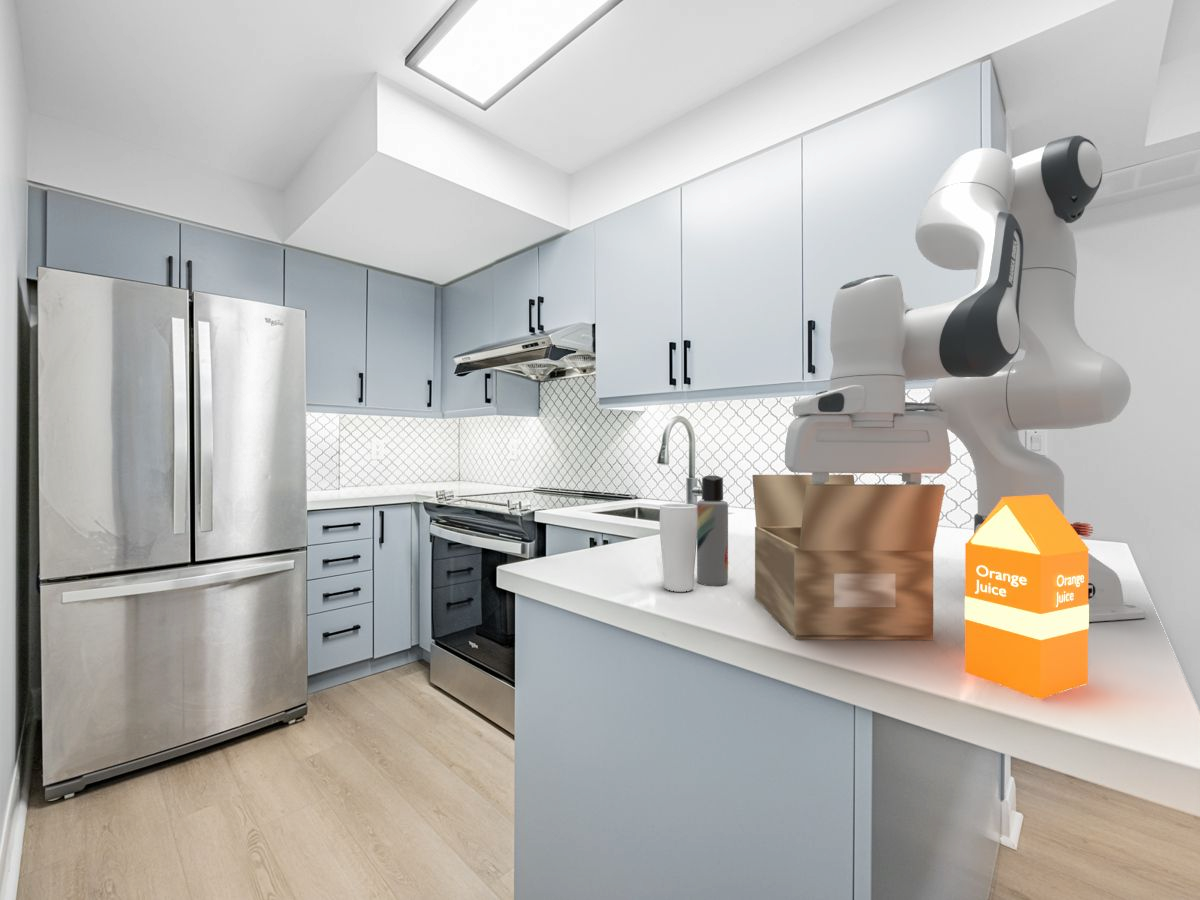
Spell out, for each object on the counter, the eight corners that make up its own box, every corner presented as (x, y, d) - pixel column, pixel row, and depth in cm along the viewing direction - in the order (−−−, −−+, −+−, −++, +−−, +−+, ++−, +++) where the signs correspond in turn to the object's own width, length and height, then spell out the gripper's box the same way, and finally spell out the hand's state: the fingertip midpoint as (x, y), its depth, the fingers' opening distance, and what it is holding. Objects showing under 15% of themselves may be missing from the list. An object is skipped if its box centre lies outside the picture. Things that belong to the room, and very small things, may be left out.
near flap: (942, 484, 70) (945, 486, 70) (930, 548, 73) (932, 550, 72) (806, 484, 70) (807, 486, 70) (798, 548, 73) (800, 550, 72)
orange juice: (963, 671, 63) (963, 494, 63) (1011, 659, 66) (1011, 492, 66) (1042, 700, 56) (1042, 500, 55) (1090, 684, 59) (1091, 497, 59)
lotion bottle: (725, 579, 107) (726, 475, 107) (729, 586, 101) (729, 476, 101) (696, 578, 107) (696, 475, 107) (698, 585, 102) (698, 476, 102)
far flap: (860, 526, 93) (858, 527, 93) (853, 474, 95) (852, 475, 96) (757, 526, 93) (756, 527, 94) (753, 474, 96) (752, 475, 96)
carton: (862, 598, 93) (862, 526, 93) (933, 640, 73) (933, 548, 73) (754, 598, 93) (754, 526, 93) (796, 639, 73) (796, 548, 73)
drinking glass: (674, 582, 104) (674, 502, 104) (705, 589, 99) (705, 505, 99) (651, 589, 99) (651, 505, 99) (683, 596, 94) (683, 508, 94)
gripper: (932, 404, 75) (932, 506, 75) (781, 403, 75) (780, 505, 75) (962, 400, 69) (962, 512, 69) (797, 399, 69) (796, 510, 69)
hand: (865, 508), depth 72 cm, fingers open, 8 cm apart
